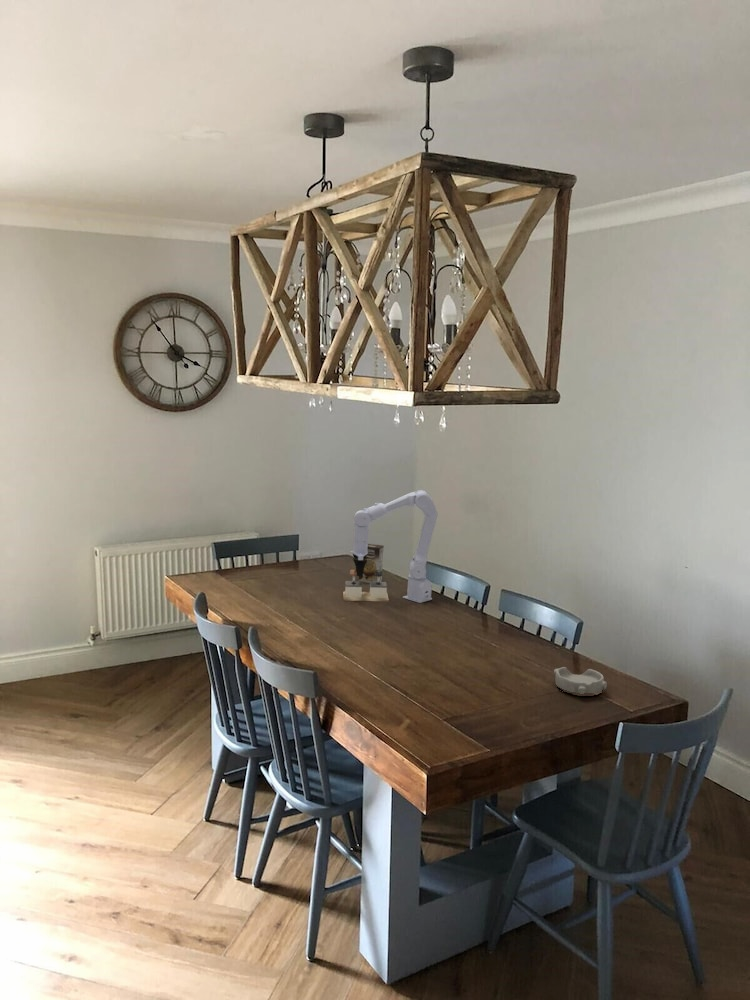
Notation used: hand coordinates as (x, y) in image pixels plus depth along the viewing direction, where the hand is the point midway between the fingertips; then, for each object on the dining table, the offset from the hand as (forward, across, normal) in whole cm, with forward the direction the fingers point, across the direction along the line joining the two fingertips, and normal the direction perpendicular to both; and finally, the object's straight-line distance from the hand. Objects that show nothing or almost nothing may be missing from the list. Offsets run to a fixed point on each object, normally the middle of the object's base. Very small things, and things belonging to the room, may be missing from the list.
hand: (359, 573), depth 326 cm
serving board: (+10, 0, +3) cm, 10 cm away
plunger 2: (+5, 0, +8) cm, 9 cm away
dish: (+10, +91, +63) cm, 112 cm away
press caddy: (+10, 0, +3) cm, 10 cm away
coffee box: (+10, -25, +6) cm, 27 cm away
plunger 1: (+5, 0, -2) cm, 6 cm away
